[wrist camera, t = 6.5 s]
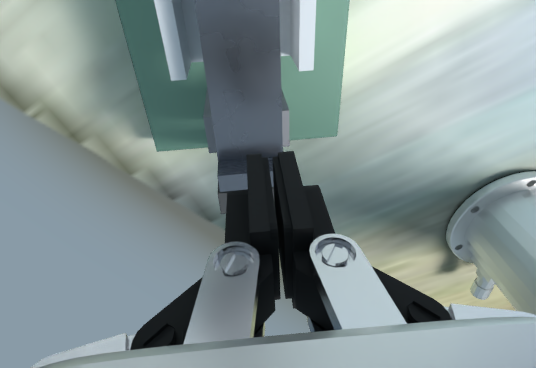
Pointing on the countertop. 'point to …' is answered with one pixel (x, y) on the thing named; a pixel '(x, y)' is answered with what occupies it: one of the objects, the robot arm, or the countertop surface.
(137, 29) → the base
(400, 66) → the countertop surface
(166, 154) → the countertop surface
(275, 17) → the thin grey bar
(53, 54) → the countertop surface
